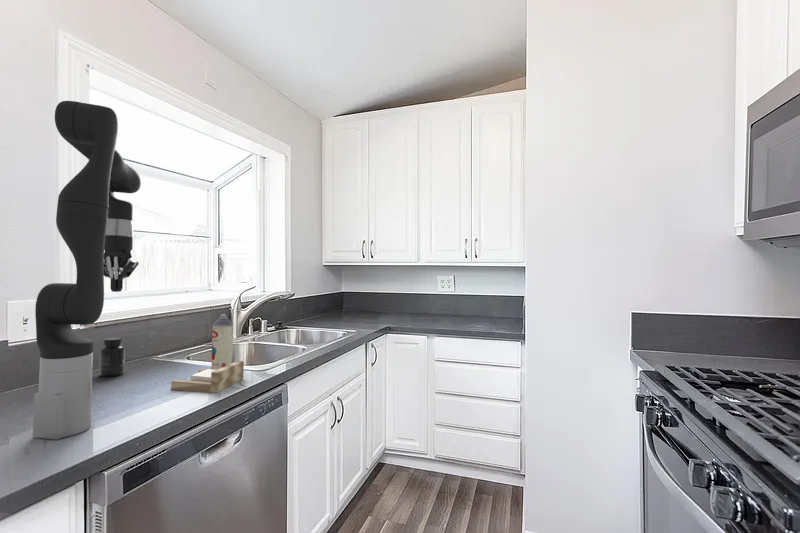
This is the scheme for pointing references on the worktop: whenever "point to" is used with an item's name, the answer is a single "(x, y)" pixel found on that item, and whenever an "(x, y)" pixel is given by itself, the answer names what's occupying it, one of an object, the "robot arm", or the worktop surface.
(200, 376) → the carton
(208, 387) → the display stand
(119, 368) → the supplement bottle
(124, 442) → the worktop surface
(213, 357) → the aerosol can
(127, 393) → the worktop surface
